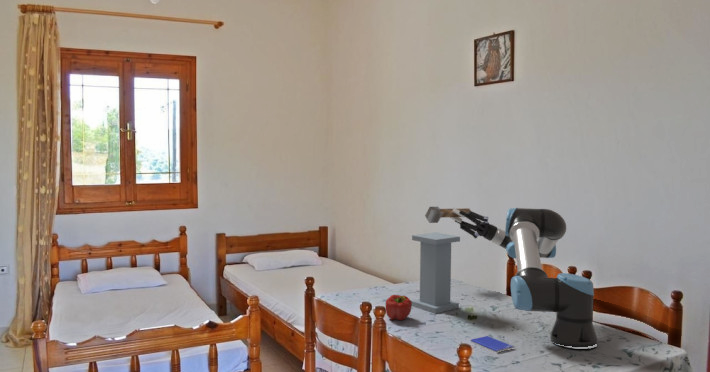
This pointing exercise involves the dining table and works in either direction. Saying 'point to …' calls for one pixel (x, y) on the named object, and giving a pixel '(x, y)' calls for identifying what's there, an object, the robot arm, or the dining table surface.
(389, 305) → the vegetable
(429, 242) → the stand
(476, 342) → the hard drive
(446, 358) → the dining table surface
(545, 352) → the dining table surface
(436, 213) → the mallet
